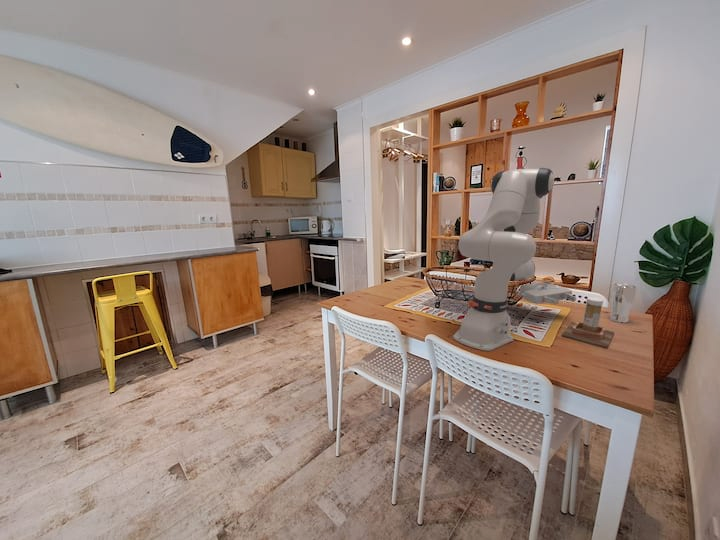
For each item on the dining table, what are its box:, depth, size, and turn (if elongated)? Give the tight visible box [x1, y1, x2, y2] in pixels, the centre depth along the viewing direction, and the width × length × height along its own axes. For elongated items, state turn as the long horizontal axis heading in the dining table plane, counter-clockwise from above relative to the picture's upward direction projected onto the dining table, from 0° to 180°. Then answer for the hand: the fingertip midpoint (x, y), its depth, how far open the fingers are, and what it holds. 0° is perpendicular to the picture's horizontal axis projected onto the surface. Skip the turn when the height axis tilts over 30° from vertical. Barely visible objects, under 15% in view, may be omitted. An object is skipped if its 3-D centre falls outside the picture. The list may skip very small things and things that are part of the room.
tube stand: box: [561, 321, 615, 349], centre depth 104 cm, size 16×13×3 cm
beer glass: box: [608, 282, 637, 324], centre depth 116 cm, size 7×7×15 cm
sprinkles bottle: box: [582, 296, 604, 333], centre depth 103 cm, size 5×5×14 cm
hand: (566, 300), depth 111 cm, fingers open, 8 cm apart
